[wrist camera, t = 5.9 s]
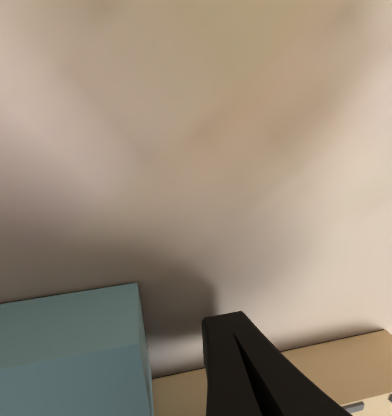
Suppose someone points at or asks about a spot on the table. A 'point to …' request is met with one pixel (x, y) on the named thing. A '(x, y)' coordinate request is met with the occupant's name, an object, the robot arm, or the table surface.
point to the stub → (75, 355)
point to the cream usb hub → (313, 369)
